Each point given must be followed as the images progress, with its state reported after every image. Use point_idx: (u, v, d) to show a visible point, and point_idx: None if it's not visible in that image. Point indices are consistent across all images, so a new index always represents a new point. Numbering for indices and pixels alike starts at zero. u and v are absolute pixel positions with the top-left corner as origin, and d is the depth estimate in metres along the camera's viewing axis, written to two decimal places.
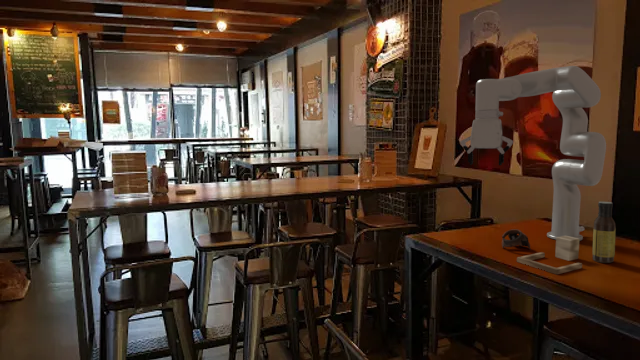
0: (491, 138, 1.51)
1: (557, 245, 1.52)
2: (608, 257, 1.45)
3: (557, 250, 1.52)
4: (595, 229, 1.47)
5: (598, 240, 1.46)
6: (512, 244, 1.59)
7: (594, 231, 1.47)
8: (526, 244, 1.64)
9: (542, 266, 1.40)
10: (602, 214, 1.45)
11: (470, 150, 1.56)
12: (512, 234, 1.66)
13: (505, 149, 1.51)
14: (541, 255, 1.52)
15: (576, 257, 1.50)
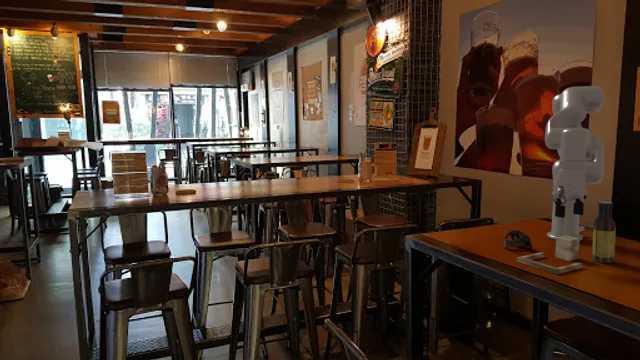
0: (581, 189, 1.47)
1: (557, 245, 1.52)
2: (608, 257, 1.45)
3: (557, 250, 1.52)
4: (595, 229, 1.47)
5: (598, 240, 1.46)
6: (514, 244, 1.59)
7: (594, 231, 1.47)
8: (528, 244, 1.64)
9: (542, 266, 1.40)
10: (602, 214, 1.45)
11: (564, 202, 1.46)
12: (514, 234, 1.66)
13: (584, 198, 1.51)
14: (541, 255, 1.52)
15: (576, 257, 1.50)
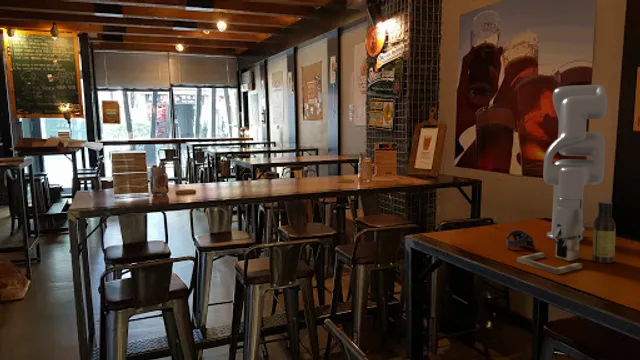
0: (578, 226, 1.49)
1: None
2: (608, 257, 1.45)
3: None
4: (595, 229, 1.47)
5: (598, 240, 1.46)
6: (517, 244, 1.59)
7: (594, 231, 1.47)
8: (530, 244, 1.64)
9: (542, 266, 1.40)
10: (602, 214, 1.45)
11: (565, 243, 1.49)
12: (516, 234, 1.66)
13: None
14: (541, 255, 1.52)
15: (576, 257, 1.50)
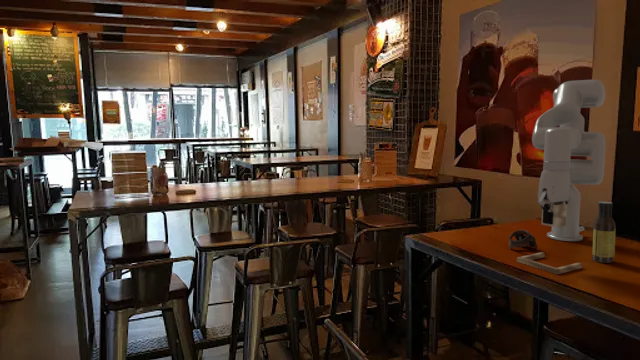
0: (565, 191, 1.41)
1: None
2: (608, 257, 1.45)
3: None
4: (595, 229, 1.47)
5: (598, 240, 1.46)
6: (520, 245, 1.58)
7: (594, 231, 1.47)
8: (533, 245, 1.63)
9: (542, 266, 1.40)
10: (602, 214, 1.45)
11: (552, 208, 1.40)
12: (519, 235, 1.65)
13: None
14: (541, 255, 1.52)
15: (563, 224, 1.42)
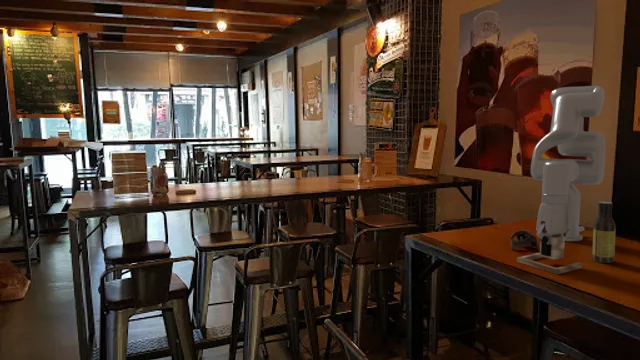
0: (564, 223, 1.42)
1: None
2: (608, 257, 1.45)
3: None
4: (595, 229, 1.47)
5: (598, 240, 1.46)
6: (521, 245, 1.58)
7: (594, 231, 1.47)
8: (534, 245, 1.63)
9: (542, 266, 1.40)
10: (602, 214, 1.45)
11: (550, 241, 1.41)
12: (520, 235, 1.65)
13: None
14: None
15: (561, 256, 1.43)
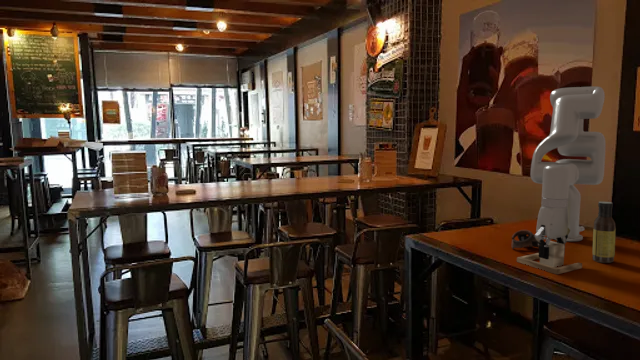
0: (563, 227, 1.42)
1: None
2: (608, 257, 1.45)
3: None
4: (595, 229, 1.47)
5: (598, 240, 1.46)
6: (522, 245, 1.58)
7: (594, 231, 1.47)
8: (536, 245, 1.63)
9: (542, 266, 1.40)
10: (602, 214, 1.45)
11: (547, 243, 1.41)
12: (521, 235, 1.65)
13: None
14: None
15: (561, 264, 1.44)
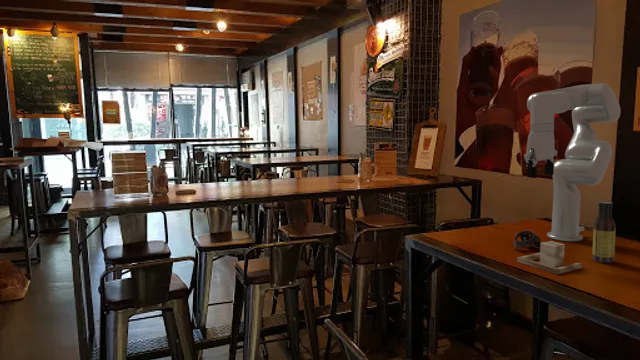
0: (550, 150, 1.57)
1: (541, 251, 1.45)
2: (608, 257, 1.45)
3: (541, 257, 1.45)
4: (595, 229, 1.47)
5: (598, 240, 1.46)
6: (525, 245, 1.58)
7: (594, 231, 1.47)
8: (538, 245, 1.63)
9: (542, 266, 1.40)
10: (602, 214, 1.45)
11: (535, 163, 1.55)
12: (524, 235, 1.65)
13: (554, 159, 1.61)
14: None
15: (561, 264, 1.44)
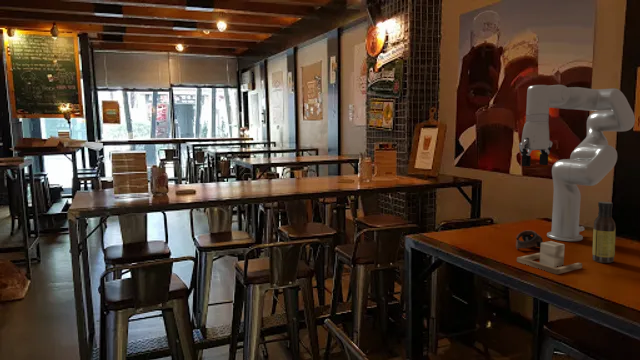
0: (545, 140, 1.62)
1: (541, 251, 1.45)
2: (608, 257, 1.45)
3: (541, 257, 1.45)
4: (595, 229, 1.47)
5: (598, 240, 1.46)
6: (527, 245, 1.57)
7: (594, 231, 1.47)
8: None
9: (542, 266, 1.40)
10: (602, 214, 1.45)
11: (529, 152, 1.61)
12: (526, 235, 1.64)
13: (548, 150, 1.66)
14: None
15: (561, 264, 1.44)
